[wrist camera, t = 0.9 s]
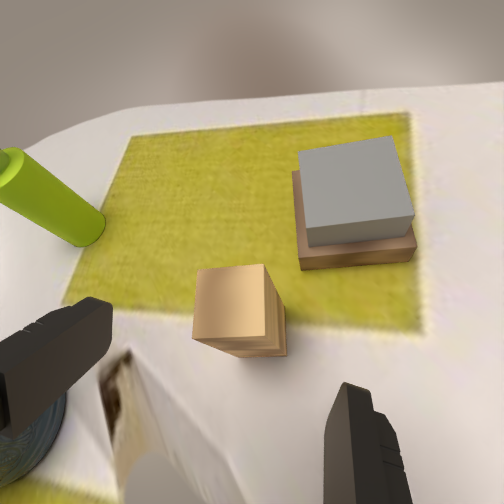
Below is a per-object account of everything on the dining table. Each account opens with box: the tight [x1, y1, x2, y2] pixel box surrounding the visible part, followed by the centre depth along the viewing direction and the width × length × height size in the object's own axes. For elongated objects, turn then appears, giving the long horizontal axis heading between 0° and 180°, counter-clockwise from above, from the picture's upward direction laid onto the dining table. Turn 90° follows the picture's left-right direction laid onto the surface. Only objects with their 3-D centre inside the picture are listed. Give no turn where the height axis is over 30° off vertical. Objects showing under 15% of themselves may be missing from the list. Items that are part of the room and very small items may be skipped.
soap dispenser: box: [0, 147, 105, 247], centre depth 34 cm, size 6×7×20 cm
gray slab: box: [298, 136, 415, 247], centre depth 30 cm, size 9×9×4 cm
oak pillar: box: [192, 264, 287, 357], centre depth 26 cm, size 5×5×12 cm
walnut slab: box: [292, 170, 417, 271], centre depth 33 cm, size 11×11×4 cm
